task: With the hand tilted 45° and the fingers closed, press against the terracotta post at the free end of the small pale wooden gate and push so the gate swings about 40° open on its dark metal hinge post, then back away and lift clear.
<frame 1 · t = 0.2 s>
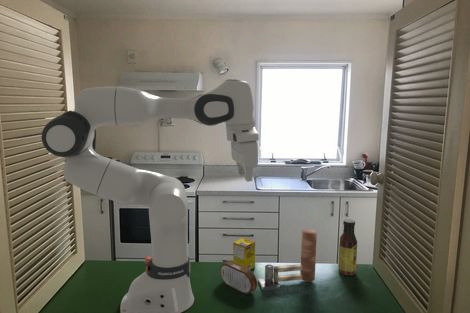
hand: (245, 177, 107), 39 cm above the countertop, tool pointing down, fingers open, 8 cm apart
supplement box: (244, 269, 131), on the countertop
sauce bottle: (346, 272, 129), on the countertop
gate: (295, 256, 119), point 10 cm above the countertop, hinge at 0.0°
tin: (237, 289, 117), on the countertop
hinge post: (268, 285, 119), on the countertop
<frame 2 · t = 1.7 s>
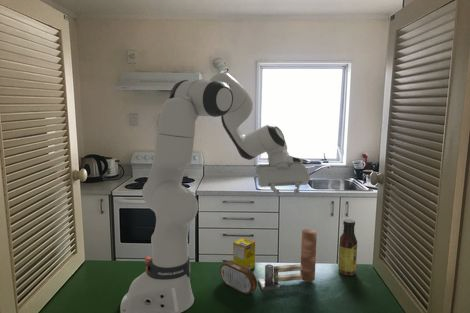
hand: (287, 194, 132), 28 cm above the countertop, tool tilted 45°, fingers open, 6 cm apart
nothing on the countertop moved.
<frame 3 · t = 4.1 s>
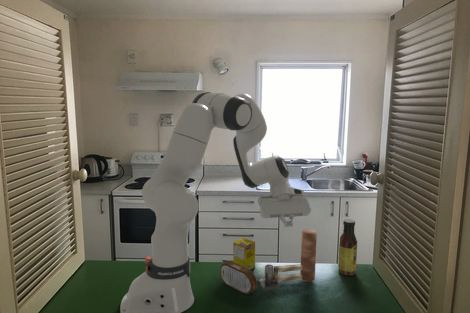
hand: (289, 226, 134), 15 cm above the countertop, tool tilted 45°, fingers closed
nothing on the countertop moved.
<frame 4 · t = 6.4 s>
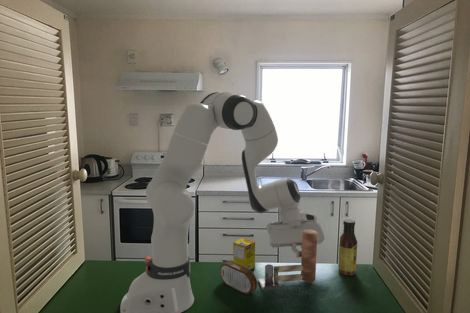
hand: (301, 256, 123), 8 cm above the countertop, tool tilted 45°, fingers closed
gate: (295, 256, 119), point 10 cm above the countertop, hinge at 1.9°, touching gripper
everything else where it was.
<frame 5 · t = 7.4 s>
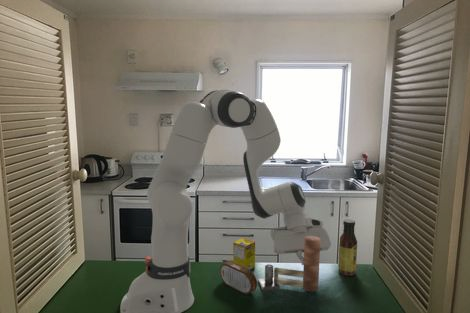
hand: (306, 264, 117), 8 cm above the countertop, tool tilted 45°, fingers closed, pressing on gate
gate: (296, 261, 115), point 10 cm above the countertop, hinge at 25.6°, touching gripper
everything else where it was.
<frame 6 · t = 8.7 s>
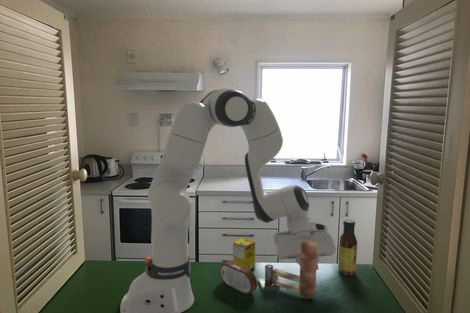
hand: (310, 270, 113), 8 cm above the countertop, tool tilted 45°, fingers closed
gate: (294, 265, 112), point 10 cm above the countertop, hinge at 44.9°, touching gripper
everything else where it was.
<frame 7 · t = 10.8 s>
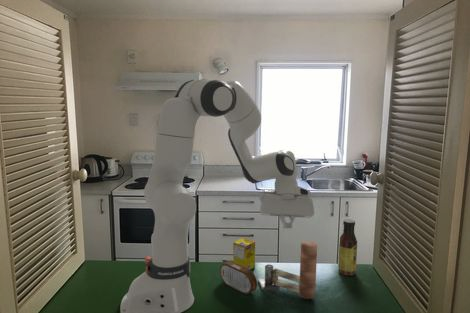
hand: (287, 228, 127), 17 cm above the countertop, tool tilted 30°, fingers closed
gate: (294, 265, 112), point 10 cm above the countertop, hinge at 45.0°
everything else where it was.
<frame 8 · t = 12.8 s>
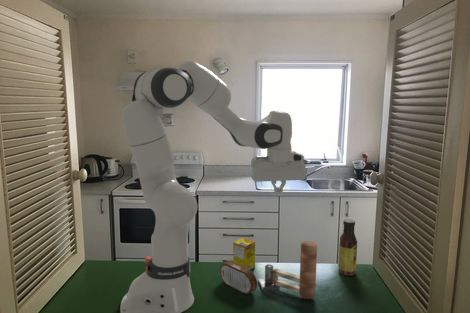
hand: (278, 192, 129), 29 cm above the countertop, tool pointing down, fingers closed
nothing on the countertop moved.
at the end: gate at +45° (first picture: +0°) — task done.
